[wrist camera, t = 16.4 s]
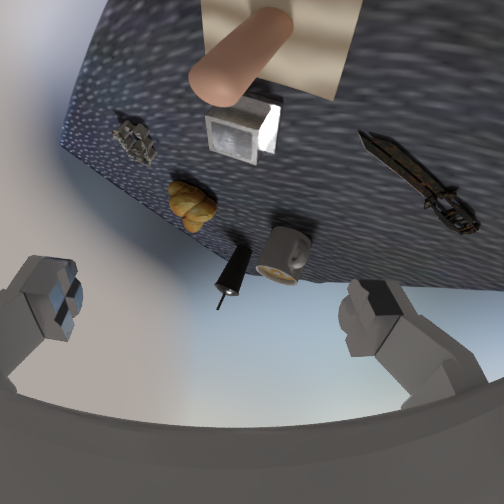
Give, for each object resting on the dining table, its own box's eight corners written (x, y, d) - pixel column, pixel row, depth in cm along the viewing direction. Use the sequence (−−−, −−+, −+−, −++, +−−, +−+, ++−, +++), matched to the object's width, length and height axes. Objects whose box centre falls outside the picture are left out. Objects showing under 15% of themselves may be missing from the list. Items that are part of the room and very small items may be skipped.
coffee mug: (289, 249, 78) (275, 284, 75) (263, 227, 73) (247, 264, 70) (331, 248, 68) (317, 288, 65) (306, 223, 62) (289, 266, 59)
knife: (351, 133, 36) (349, 140, 36) (385, 111, 30) (383, 118, 30) (452, 232, 43) (452, 239, 43) (483, 224, 37) (483, 232, 37)
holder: (213, 83, 36) (194, 106, 35) (283, 102, 35) (269, 127, 34) (217, 130, 46) (202, 152, 44) (276, 149, 45) (264, 173, 43)
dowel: (253, 2, 22) (186, 57, 18) (296, 13, 22) (241, 71, 18) (250, 35, 26) (190, 98, 22) (289, 46, 26) (239, 113, 22)
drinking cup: (252, 257, 97) (226, 315, 90) (230, 246, 95) (203, 304, 89) (259, 252, 89) (232, 315, 83) (236, 240, 88) (207, 303, 82)
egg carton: (121, 116, 52) (109, 131, 50) (151, 125, 51) (139, 140, 50) (132, 147, 62) (122, 161, 60) (160, 157, 61) (150, 171, 60)
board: (203, -49, 18) (197, -47, 17) (369, -23, 16) (368, -21, 15) (211, 61, 33) (206, 66, 32) (335, 95, 31) (332, 101, 31)
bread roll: (167, 179, 70) (150, 206, 67) (187, 172, 63) (169, 202, 60) (204, 209, 77) (190, 236, 75) (227, 206, 70) (212, 235, 68)
